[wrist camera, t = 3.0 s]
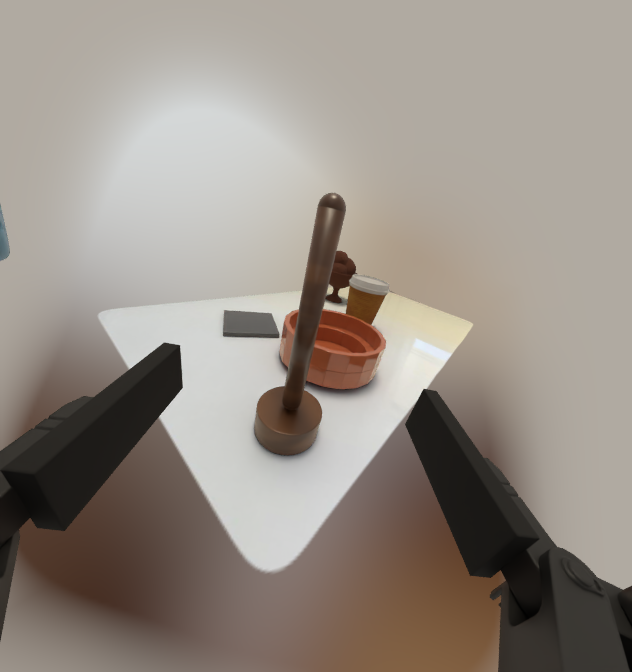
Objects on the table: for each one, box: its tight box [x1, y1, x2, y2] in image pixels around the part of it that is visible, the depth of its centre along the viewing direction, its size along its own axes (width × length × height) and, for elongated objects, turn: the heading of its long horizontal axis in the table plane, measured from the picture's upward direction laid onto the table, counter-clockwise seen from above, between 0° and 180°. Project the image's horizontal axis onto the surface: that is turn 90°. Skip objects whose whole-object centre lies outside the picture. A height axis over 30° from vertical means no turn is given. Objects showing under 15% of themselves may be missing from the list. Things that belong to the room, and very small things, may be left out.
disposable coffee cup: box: [346, 274, 390, 325], centre depth 55 cm, size 10×10×12 cm
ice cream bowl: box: [326, 251, 357, 303], centre depth 72 cm, size 11×11×15 cm
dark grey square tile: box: [223, 310, 279, 338], centre depth 46 cm, size 10×10×1 cm
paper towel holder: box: [254, 193, 346, 455], centre depth 21 cm, size 7×7×23 cm
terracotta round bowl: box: [279, 309, 386, 389], centre depth 39 cm, size 17×17×6 cm
